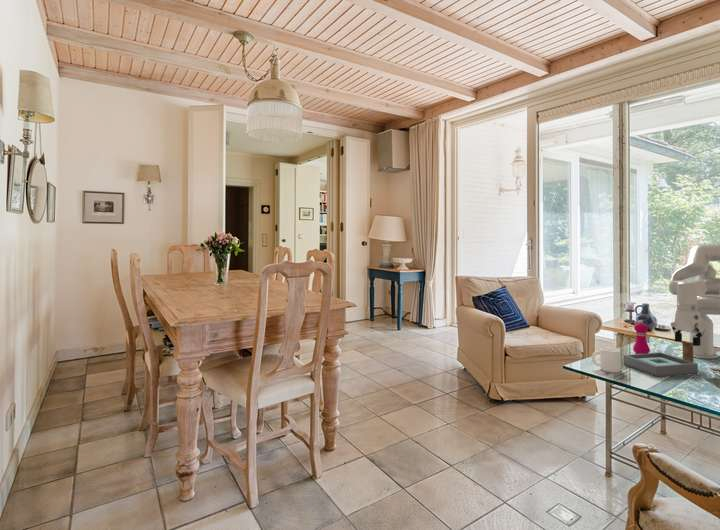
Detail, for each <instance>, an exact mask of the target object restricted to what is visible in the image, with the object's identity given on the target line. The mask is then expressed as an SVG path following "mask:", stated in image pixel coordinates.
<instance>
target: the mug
mask: <svg viewBox="0 0 720 530" xmlns="http://www.w3.org/2000/svg"><path fill="white" fill-rule="evenodd" d="M597 355H600V357H599V359H600V362H598V361H596V356H597ZM591 361H592V362H593V364H594V365H595V366H597V367H598V366H599V367H600V369H602V370H601V371H603V372H605V371H606V373H610V372H611V373H613V374H614V373H620V372H621V370H622V369H621V366H622V365H621V364H622V363H621V362H622V361H621V349H620V348H616V347H608V346H607V347H605V346H604V347H600V348H599V350H596V351H594V352H593V353H592V354H591ZM611 373H610V374H611Z"/></svg>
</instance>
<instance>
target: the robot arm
mask: <svg viewBox="0 0 720 530" xmlns="http://www.w3.org/2000/svg"><path fill="white" fill-rule="evenodd" d="M710 262H720V244H698V245H695V246H693V247H692V248H690V250H689V254H688V258H687V260H686V265H684V266H681V268H678V269H677V270H676V271H675V272H674V273H672V275H671V277H670V281H669V285H668V292H669V293H670V294H671V295H673V296H676V310H675V316H674V321H672V322H671V323H670V326H671V329H672V331H673V333H674V341H675V342H683V334H682V332H685V333H689V342H692V343H693V358H696V359H707V360H708V359H709V360H712V359H718V357H719V355H718V354H717V352H719V353H720V347H714V343H715V342H714V322H713V320H712V319H711V318H710V317H709V316H710V315H712V316H720V277H717V270H716V269H715V268H714V267H713V266H712V264H710ZM690 278H693V280H687V279H690Z"/></svg>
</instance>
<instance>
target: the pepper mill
mask: <svg viewBox="0 0 720 530" xmlns="http://www.w3.org/2000/svg"><path fill="white" fill-rule="evenodd" d="M633 327H634V328H633V329H634V331H635V337H636V339H635V342H634V344H633V348H632V349H633V351H634V354H645V353H651V348H650V347H649V344H648V342H647V336H648V331H649V327H648V325H647V324H646V323H644V321H643V320H642V319H640V320H639V321H638V323H635V324H634V325H633Z"/></svg>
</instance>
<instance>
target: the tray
mask: <svg viewBox="0 0 720 530" xmlns="http://www.w3.org/2000/svg"><path fill="white" fill-rule="evenodd" d="M623 366H625V367H628V368H631V369H633V370H636V371H638V370H639V372H641V373H643V372H644V374H646V373H647V374H646V375H648V374H649V376H651V375H652V376H651V377H653V378H656V377H657V378H667V376H670V377H678V376H677V375H683V376H689V375H688V374H696V375H699V374H698V373H699V372H698V363H696V362H694V361H693V362H691V361H688V360H684V359H683V358H680V357H677V356H674V355H671V354H668V353H664V352H662V351H661V352H649V353H645V354H635V353H634V354H633V353H632V354H623Z"/></svg>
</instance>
